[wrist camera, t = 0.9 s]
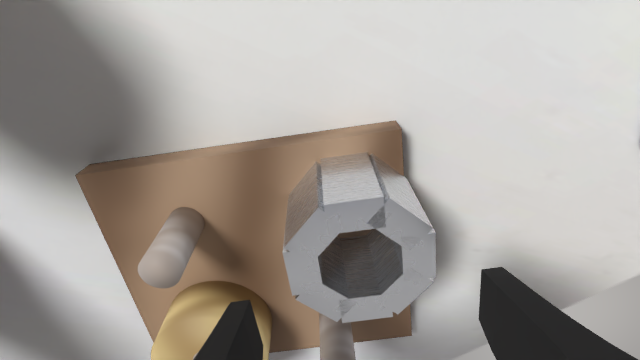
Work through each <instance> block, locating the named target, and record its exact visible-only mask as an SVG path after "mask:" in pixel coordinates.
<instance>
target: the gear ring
mask: <svg viewBox="0 0 640 360" xmlns="http://www.w3.org/2000/svg"><path fill="white" fill-rule="evenodd" d="M369 229H372V230H371V231H370V232H369V233H368V234H367V235H363V236H355V237H348V238H339V237H338V236H337V235H338V234H339V233H346V232H353V231H361V230H369ZM283 257H284V262H285V266H286V271H287V275H288V279H289V284H290V288H291V293H292V296H294V295H296V296H295V300H297V301H299V302H301V303H303V304H304V305H306V306H308V307H310V308H312V309H314V310H315V311H317V312H319V313H321V314H323V315H325V316H327V317H328V318H330V319H332V320H334V321H336V322H338V321H339V320H340V319H341V318H342V323H347V322H355V321H363V320H371V319H380V318H388V317H393V312H394V313H396V314H399V313H400V312H401V311H403V310H404V309H405V308H406V307H407V306H408V305H409V304H410V303H411V302H412V301H414V300H415V299H416V298H417V297H418V296H419V295H420V294H421V293H422V292H424V291H425V290H426V289H427V288H428V287H429V286H430V285H431V284H432V283H433V282H434V281H433V279H432V278H436V232H435V230H434V229H433V227H432V225H431V223H430V221H429V219H428V217H427V215H426V214H425V212H424V210H423V208H422V206H421V204H420V202H419V200H418V199H417V197H416V195H415V193H414V191H413V189H412V187H411V185H410V184H409V182H408V180H407V178H406V177H404V176H403V175H401V174H400V173H399V172H397V171H396V170H395V169H393V168H392V167H390V166H389V165H388V164H386V163H385V162H384V161H382V160H381V159H379V158H378V157H377V156H375V155H374V154H371V155H370V156H368V153H367V152H364V153H357V154H350V155H342V156H335V157H328V158H321V164H320V163H318V162H317V161H316V162H315V163H314V164H313V166H312V167H311V168H310V169H309V170H308V172H307V173H306V174H305V175H304V177H303V178H302V179H301V180H300V182H299V183H298V184H297V185H296V187H295V188H294V189H293V190H292V192H291V193H290V194H289V199H288V206H287V215H286V224H285V234H284V243H283Z"/></svg>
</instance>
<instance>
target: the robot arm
mask: <svg viewBox="0 0 640 360" xmlns="http://www.w3.org/2000/svg"><path fill="white" fill-rule="evenodd" d="M479 321H480V323H481V326H482V328H483V331H484V333H485V336H486V338H487V340H488V343H489V345H490V347H491V350H492V352H493V353H494V356H495V357H496V359H497V360H638V359H636V358H634V357H633V356H631V355H629V354H627V353H626V352H624V351H622V350H620V349H619V348H617V347H615V346H614V345H612V344H610V343H608V342H607V341H606V340H604V339H602V338H601V337H599V336H598V335H596V334H595V333H593V332H592V331H590V330H589V329H587V328H585V327H584V326H582V325H581V324H579V323H578V322H576V321H575V320H573V319H571V318H570V317H569V316H568V315H566V314H565V313H563V312H562V311H560V310H559V309H558V308H556V307H555V306H553V305H552V304H551V303H549V302H548V301H547V300H545V299H544V298H542V297H541V296H540V295H538V294H537V293H536V292H534V291H533V290H532V289H530V288H529V287H528V286H526V285H525V284H524V283H522V282H521V281H520V280H518V279H517V278H516V277H514V276H513V275H512V274H511V273H509V272H508V271H507V270H505V269H504V268H502V267H498V268H490V269H482V271H481V289H480V307H479ZM193 360H263V343H262V339H261V336H260V332H259V329H258V326H257V322H256V319H255V315H254V312H253V308H252V305H251V302H250V300H243V301H236V302H231V303H230V304H229V305H228V307H227V308H226V310H225V311H224V313H223V315H222V316H221V318H220V320H219V321H218V323H217V324H216V326H215V328H214V329H213V331H212V332H211V334H210V335H209V337H208V339H207V340H206V342H205V343H204V345H203V346H202V348H201V349H200V350H199V352H198V353H197V355H196V356H195V358H194V359H193Z"/></svg>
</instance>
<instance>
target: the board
mask: <svg viewBox="0 0 640 360" xmlns="http://www.w3.org/2000/svg"><path fill="white" fill-rule="evenodd" d="M364 152H367V153H368V156H370V155H371V154H374V155H375V156H377V157H378V158H379V159H381V160H382V161H384V162H385V163H386V164H388V165H389V166H390V167H392V168H393V169H395V170H396V171H397V172H399V173H400V174H401V175H403V176H404V169H403V149H402V129H401V128H400V126H399V125H398V123H397V122H396V121H389V122H382V123H375V124H368V125H361V126H355V127H348V128H341V129H334V130H327V131H320V132H313V133H306V134H299V135H292V136H285V137H278V138H271V139H264V140H257V141H250V142H243V143H236V144H229V145H222V146H215V147H208V148H201V149H194V150H187V151H180V152H173V153H166V154H159V155H152V156H145V157H138V158H131V159H124V160H117V161H110V162H103V163H96V164H90V165H88V166H87V167H86V168H84V169H83V170H82V171H80V172H79V173H78V174H77V175H75V176H76V178H77V180H78V182H79V185H80V187H81V189H82V191H83V193H84V195H85V197H86V200H87V202H88V204H89V206H90V208H91V210H92V212H93V214H94V217H95V219H96V221H97V223H98V225H99V227H100V229H101V232H102V234H103V236H104V238H105V240H106V242H107V244H108V246H109V249H110V251H111V253H112V255H113V257H114V259H115V261H116V264H117V266H118V268H119V270H120V272H121V274H122V276H123V278H124V281H125V283H126V285H127V287H128V289H129V291H130V293H131V295H132V298H133V300H134V302H135V304H136V306H137V308H138V310H139V313H140V315H141V317H142V319H143V321H144V323H145V325H146V327H147V330H148V332H149V334H150V336H151V338H152V340H153V342H154V344H153V346H152V350H151V360H193V359H194V358H195V356H196V355H197V353H198V352H199V350H200V349H201V348H202V346H203V345H204V343H205V342H206V340H207V339H208V337H209V335H210V334H211V332H212V331H213V329H214V328H215V326H216V324H217V323H218V321H219V320H220V318H221V316H222V315H223V313H224V311H225V310H226V308H227V307H228V305H229V304H230V303H231V302H236V301H243V300H250V302H251V305H252V308H253V312H254V315H255V319H256V322H257V326H258V329H259V332H260V336H261V339H262V343H263V360H268V356H269V353H272V352H280V351H288V350H296V349H305V348H313V347H320V360H356V359H355V351H354V342H363V341H371V340H379V339H388V338H396V337H404V336H412V332H411V311H410V304H409V305H408V306H407V307H406V308H405V309H404V310H403V311H401V312H400V313H399V314H396V313H394V312H393V317H388V318H380V319H371V320H363V321H355V322H347V323H342V318H341V319H340V320H339V321H338V322H336V321H334V320H332V319H330V318H328V317H327V316H325V315H323V314H321V313H319V312H317V311H315V310H314V309H312V308H310V307H308V306H306V305H304V304H303V303H301V302H299V301H297V300H295V296H296V295H294V296H292V293H291V288H290V284H289V279H288V275H287V271H286V266H285V262H284V257H283V243H284V234H285V224H286V215H287V206H288V199H289V194H290V193H291V192H292V190H293V189H294V188H295V187H296V185H297V184H298V183H299V182H300V180H301V179H302V178H303V177H304V175H305V174H306V173H307V172H308V170H309V169H310V168H311V167H312V166H313V164H314V163H315V162H316V161H317V162H318V163H320V164H321V158H328V157H335V156H342V155H350V154H357V153H364ZM371 230H372V229H369V230H361V231H353V232H346V233H339V234H338V235H337V236H338V237H339V238H348V237H355V236H363V235H367V234H368V233H369V232H370V231H371Z"/></svg>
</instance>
